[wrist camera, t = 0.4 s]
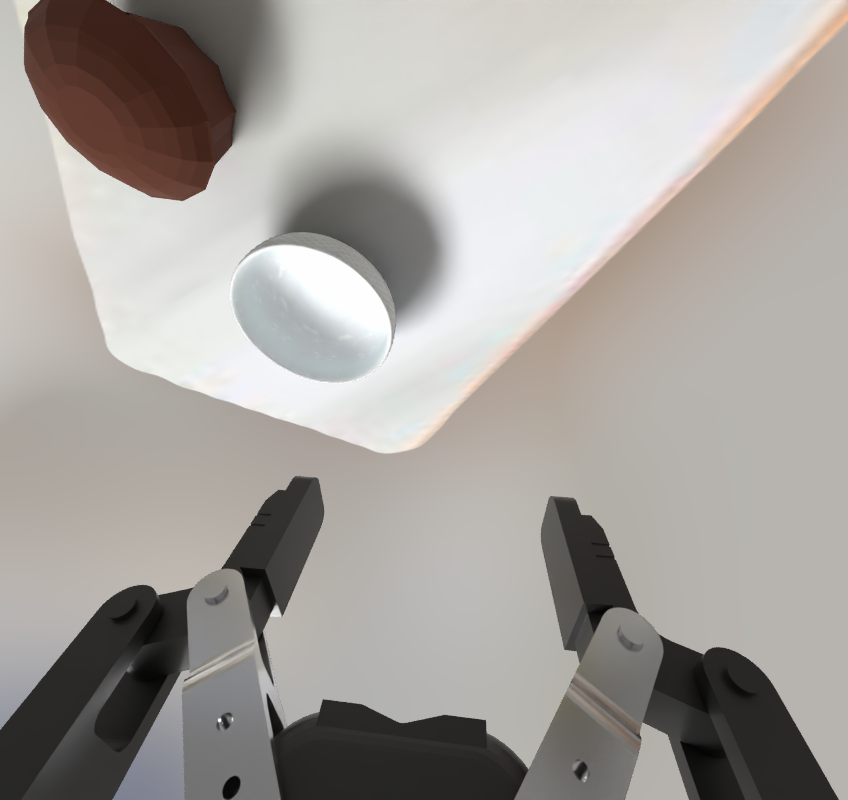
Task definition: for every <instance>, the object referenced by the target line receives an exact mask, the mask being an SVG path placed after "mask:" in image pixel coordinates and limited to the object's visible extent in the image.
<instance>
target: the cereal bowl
mask: <svg viewBox="0 0 848 800" xmlns="http://www.w3.org/2000/svg"><path fill="white" fill-rule="evenodd" d="M230 301H231V306H232V310H233V313H234V316H235V318H236V321H237V323H238V325H239V326H240V328H241V330H242V331H243V333H244V334H245V336H246V337H247V338H248V340H249V341H250V342H251V343H252V344H253V345H254V346H255V347H256V348H257V349H258V350H259V351H260V352H261V353H262V354H263V355H264V356H266V357H267V358H268V359H269V360H271V361H272V362H274V363H275V364H276V365H278V366H279V367H281V368H283V369H285V370H287V371H288V372H291V373H293V374H295V375H297V376H300V377H303V378H306V379H309V380H313V381H317V382H323V383H347V382H352V381H356V380H359V379H362V378H364V377H366V376H368V375H370V374H372V373H373V372H374V371H376V370H377V369H378V368H379V367H380V366H381V365H382V364H383V362H384V361H385V359H386V358H387V356H388V354H389V352H390V349H391V346H392V344H393V339H394V334H395V327H396V315H395V307H394V301H393V299H392V296H391V293H390V291H389V289H388V286H387V285H386V283H385V281H384V279H383V278H382V276H381V275H380V273H379V272H378V271H377V269H376V268H375V267H374V266H373V265H372V264H371V263H370V262H369V261H368V260H367V259H366V258H365V257H364V256H362V254H360V253H358V252H357V250H355V249H353V248H352V247H350V246H349V245H346V244H345V243H343V242H341V241H339V240H336V239H334V238H331V237H329V236H325V235H321V234H315V233H310V232H309V233H306V232H292V233H285V234H282V235H278V236H275V237H274V238H270V239H269V240H266V241H264V242H263V243H261V244H260V245H258V246H256V247H255V248H254V249H253V250H251V251H250V252H249V253H248V254H247V255H246V256H245V257H244V258H243V259H242V260H241V261H240V263H239V264H238V266H237V267H236V269H235V271H234V274H233V276H232V280H231V285H230Z"/></svg>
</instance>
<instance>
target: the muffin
mask: <svg viewBox="0 0 848 800" xmlns="http://www.w3.org/2000/svg"><path fill="white" fill-rule="evenodd" d="M24 65H25V71H26V74H27V76H28V78H29V81H30V83H31V85H32V88H33V90H34V92H35V95H36V97H37V99H38V102H39V104H40V106H41V108H42V110H43V111H44V112H45V114H46V115H47V116H48V118H49V119H50V120H51V121H52V123H53V124H54V125H55V127H56V128H57V129H58V131H59V132H60V133H61V135H62V136H63V137H64V138H65V140H66V141H67V142H68V143H69V144H70V145H71V146H72V147H73V148H74V149H76V150H77V151H78V152H79V153H80V154H81V155H83V156H84V157H85V158H86V159H87V160H88V161H90V162H91V163H92V164H93V165H94V166H95V167H97V168H98V169H99V170H100V171H102V172H104V173H106V174H108V175H110V176H112V177H114V178H116V179H118V180H120V181H121V182H123V183H125V184H127V185H129V186H131V187H133V188H135V189H137V190H139V191H141V192H143V193H145V194H147V195H149V196H151V197H156V198H164V199H172V200H180V201H184V200H186V199H188V198H190V197H192V196H194V195H195V194H197V193H199V192H201V191H203V190H205V189H206V187H207V184H208V182H209V179H210V176H211V174H212V171H213V168H214V166H215V164H216V163H217V162H218V161H219V160H220V159H221V157H222V156H223V155H224V154H225V153H226V152H227V151H228V149H229V148H230V147H231V146H232V126H233V122H234V117H235V112H236V111H235V109H234V106H233V104H232V102H231V100H230V98H229V96H228V94H227V91H226V89H225V86H224V83H223V80H222V77H221V74H220V71H219V68H218V66H217V65H216V64H215V63H214V62H213V61H212V60H211V59H210V58H209V57H208V56H206V55H205V54H204V53H203V52H202V51H201V50H200V49H199V48H198V47H197V45H196V44H195V43H194V42H193V41H192V39H191V38H190V37H189V36H188V35H187V33H186V32H185V31H184V30H183V29H182V28H179V27H175V26H172V25H168V24H165V23H161V22H158V21H154V20H151V19H148V18H144V17H141V16H137V15H134V14H130V13H126V12H123V11H122V10H120V9H118V8H117V7H115V6H114V5H112V4H111V3H109V2H108V1H106V0H40V1H39V2H38V3H37V4H36V5H35V6H34V7H33V8H32V9H31V10H30V11H29V12H28V20H27V23H26V25H25V31H24Z"/></svg>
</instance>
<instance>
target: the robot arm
mask: <svg viewBox="0 0 848 800" xmlns="http://www.w3.org/2000/svg"><path fill="white" fill-rule="evenodd" d="M323 517H324V505H323V501H322V495H321V491H320V484H319V480H318V478H315V477H302V476H295V477H294V478H293V479H292V481H291V482H290V484H289V486H288V487H287V489H286V490H278V491H277V492H275V493H274V494H273V495H272V496H271V497H269V498H268V499H267V500H266V501H265V502H264V504H263V505H262V507H261V509H260V510H259V512H258V515H257V516H255V518H254V520H253V521H252V522H251V526H249V527H248V529H247V530H246V532H245V533H244V535H243V537H242V538H241V540H240V541H239V543H238V544H237V546H236V547H235V549H234V550H233V552H232V554H231V555H230V557H229V558H228V560H227V561H226V563H225V564H224V566H223V567H222V569H221V570H218V571H215V572H212V573H211V574H208V575H207V576H205V577H204V578H203V579H201V580H200V581H199V582H198V583H197V584H196V585H195V586H194V587H193V588H190V589H186V590H181V591H176V592H172V593H167V594H162V595H157V593H156V592H155V590H154V589H153V588H152V587H150V586H147V585H138V586H133V587H130V588H127V589H125V590H122V591H121V592H119V593H117V594H116V595H114V596H113V597H111V598H110V599H109V600H107V601H106V602H105V603H104V604H103V605H102V606H101V607H100V608H99V610H98V611H97V612H96V613H95V614H94V616H93V617H92V618H91V619H90V621H89V622H88V623H87V624H86V626H85V627H84V628H83V629H82V630H81V632H80V633H79V634H78V635H77V637H76V638H75V639H74V640H73V641H72V643H71V644H70V645H69V646H68V648H67V649H66V650H65V652H63V654H62V655H61V656H60V658H59V659H58V660H57V661H56V662H55V664H54V665H53V666H52V667H51V668H50V670H49V671H48V672H47V673H46V675H45V676H44V677H43V678H42V679H41V681H40V682H39V683H38V684H37V686H36V687H35V688H34V689H33V690H32V692H31V693H30V694H29V696H28V697H27V698H26V699H25V700H24V702H23V703H22V704H21V705H20V707H19V708H18V709H17V710H16V711H15V713H14V714H13V715H12V716H11V717H10V719H9V720H8V721H7V723H6V724H5V725H4V726H3V727H2V729H1V730H0V800H112V799H113V797H114V796H115V794H116V792H117V790H118V788H119V786H120V784H121V782H122V781H123V779H124V777H125V775H126V773H127V771H128V769H129V768H130V766H131V764H132V762H133V760H134V758H135V757H136V755H137V753H138V751H139V749H140V747H141V745H142V743H143V742H144V740H145V738H146V736H147V734H148V732H149V731H150V729H151V727H152V725H153V723H154V721H155V719H156V717H157V716H158V714H159V712H160V710H161V708H162V706H163V704H164V703H165V701H166V699H167V697H168V695H169V693H170V691H171V690H172V688H173V686H174V684H175V682H176V680H177V678H178V677H179V675H180V673H181V671H185V670H189V669H190V673H189V678H187V679H185V680H184V683H183V687H182V710H183V750H184V789H185V800H625V798H626V794H627V791H628V788H629V784H630V781H631V778H632V774H633V771H634V768H635V764H636V761H637V758H638V754H639V750H640V745H641V737H640V729H641V725H642V722H643V723H645V724H647V725H650V726H651V727H653V728H655V729H658V730H659V731H661V732H664V733H666V734H667V735H668V737H669V740H670V743H671V746H672V749H673V752H674V755H675V758H676V761H677V764H678V767H679V771H680V773H681V776H682V780H683V783H684V786H685V789H686V792H687V795H688V798H689V800H839V799H838V798H837V796H836V794H835V793H834V791H833V789H832V787H831V786H830V784H829V782H828V780H827V778H826V777H825V775H824V773H823V772H822V770H821V768H820V766H819V764H818V763H817V761H816V759H815V758H814V756H813V754H812V752H811V750H810V749H809V747H808V745H807V744H806V742H805V740H804V738H803V737H802V735H801V733H800V731H799V730H798V728H797V726H796V724H795V723H794V721H793V719H792V717H791V716H790V714H789V712H788V710H787V709H786V707H785V705H784V703H783V702H782V700H781V698H780V696H779V695H778V693H777V691H776V689H775V688H774V686H773V684H772V683H771V681H770V680H769V679H768V678H767V676H766V675H765V674H764V673H763V672H762V671H761V670H760V669H759V668H758V667H757V666H756V665H755V664H754V663H753V662H751V661H750V660H749V659H747V658H746V657H744V656H742V655H741V654H739V653H737V652H735V651H732V650H730V649H726V648H720V647H716V648H712V649H709V650H708V651H707V652H706V653H705V654H704V655H703V654H701V653H699V652H696V651H694V650H691V649H689V648H686V647H684V646H681V645H679V644H677V643H674V642H672V641H670V640H668V639H666V638H664V637H662V636H661V635H659V634H658V633H657V631H656V630H655V629H654V627H653V626H652V625H651V624H650V623H649V622H648V621H647V620H646V619H645V618H644V617H642V616H641V615H639V613H638V612H637V610H636V608H635V606H634V604H633V601H632V598H631V596H630V594H629V591H628V589H627V586H626V584H625V581H624V579H623V577H622V574H621V572H620V569H619V567H618V564H617V562H616V560H615V559H614V554H613V552H612V550H611V547H609V542H608V540H607V537H606V535H605V533H604V530H603V528H602V527H601V526H600V525H599V524H598V523H597V522H596V520H595V519H594V518H593V517H592V516H589V515H581V513H580V510H579V508H578V505H577V502H576V500H575V499H574V498H568V497H554V496H551V497H550V498H549V500H548V504H547V508H546V512H545V516H544V520H543V523H542V528H541V543H542V549H543V553H544V558H545V562H546V567H547V572H548V576H549V581H550V585H551V590H552V595H553V599H554V604H555V608H556V612H557V617H558V622H559V626H560V631H561V636H562V640H563V645H564V649H565V650H571V651H577V654H578V658H579V662H580V665H579V667H578V669H577V671H576V673H575V675H574V678H573V679H572V681H571V683H570V685H569V687H568V689H567V691H566V693H565V695H564V697H563V700H562V702H561V704H560V706H559V708H558V710H557V712H556V714H555V716H554V718H553V720H552V722H551V724H550V727H549V729H548V731H547V733H546V735H545V737H544V739H543V741H542V743H541V745H540V747H539V749H538V751H537V753H536V755H535V758H534V760H533V762H532V764H531V766H530V768H529V769H528V768H527V767H526V765H525V764H524V763H523V761H522V760H521V759H520V758H519V757H518V756H517V755H516V754H515V753H514V752H513V751H512V750H511V749H510V748H508V747H507V746H506V745H505V744H504V743H502V742H501V741H499V740H498V739H496V738H495V737H493V736H491V735H489V734H487V733H486V720H480V719H472V718H465V717H457V716H448V715H442V716H437V717H433V718H428V719H424V720H418V721H414V722H408V723H399V722H396V721H394V720H392V719H390V718H388V717H386V716H384V715H382V714H380V713H378V712H376V711H374V710H372V709H370V708H368V707H366V706H364V705H362V704H354V703H347V702H339V701H332V700H323V701H322V705H321V709H320V712H318V713H314V714H311V715H308V716H306V717H303V718H301V719H299V720H297V721H296V722H294V723H292V724H291V725H289V726H288V727H287V723H286V719H285V715H284V711H283V708H282V704H281V701H280V698H279V694H278V690H277V686H276V682H275V677H274V672H273V668H272V663H271V658H270V654H269V650H268V644H267V640H266V635H265V631H264V628H265V625H266V623H267V621H268V619H269V617H270V616H275V617H282V616H283V614H284V612H285V609H286V607H287V605H288V602H289V600H290V598H291V595H292V593H293V591H294V588H295V586H296V584H297V581H298V579H299V577H300V574H301V572H302V569H303V567H304V565H305V563H306V560H307V558H308V556H309V553H310V551H311V549H312V546H313V544H314V542H315V539H316V537H317V535H318V532H319V530H320V528H321V525H322V522H323Z"/></svg>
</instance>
